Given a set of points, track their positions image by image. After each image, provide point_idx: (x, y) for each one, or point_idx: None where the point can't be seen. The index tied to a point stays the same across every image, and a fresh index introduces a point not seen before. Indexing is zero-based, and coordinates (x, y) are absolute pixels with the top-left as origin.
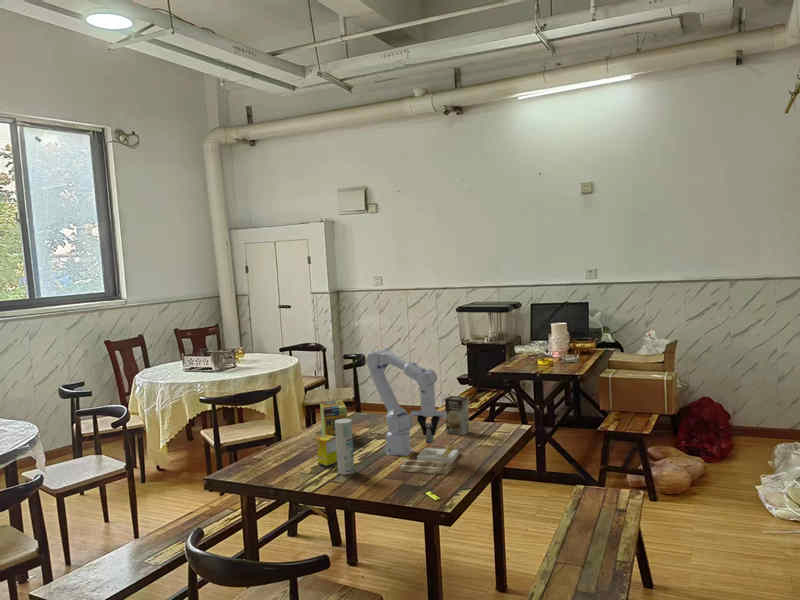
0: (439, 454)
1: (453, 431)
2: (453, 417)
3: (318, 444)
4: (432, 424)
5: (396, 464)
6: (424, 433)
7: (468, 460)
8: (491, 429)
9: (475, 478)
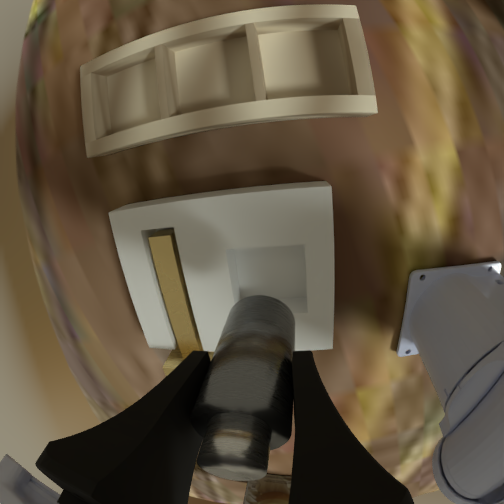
0: (200, 267)
1: (283, 482)
2: None
3: None
4: (135, 434)
5: (429, 135)
6: (295, 360)
7: (100, 285)
8: (201, 486)
9: (21, 109)
